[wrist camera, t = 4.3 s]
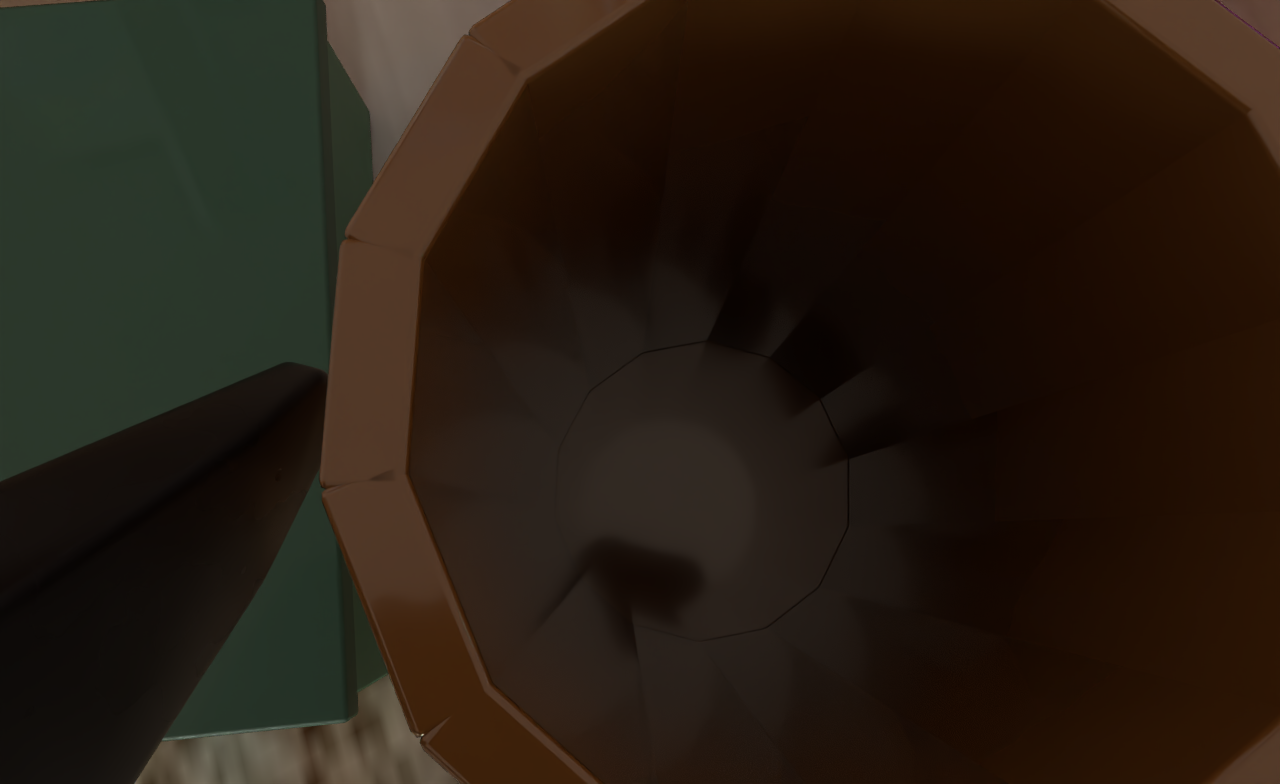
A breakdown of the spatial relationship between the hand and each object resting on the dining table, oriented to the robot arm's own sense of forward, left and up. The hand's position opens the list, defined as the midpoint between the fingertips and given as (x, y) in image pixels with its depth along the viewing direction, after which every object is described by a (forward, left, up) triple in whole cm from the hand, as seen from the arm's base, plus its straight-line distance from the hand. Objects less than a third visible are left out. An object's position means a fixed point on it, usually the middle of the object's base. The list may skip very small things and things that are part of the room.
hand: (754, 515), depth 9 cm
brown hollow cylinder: (+1, 0, -8) cm, 8 cm away
